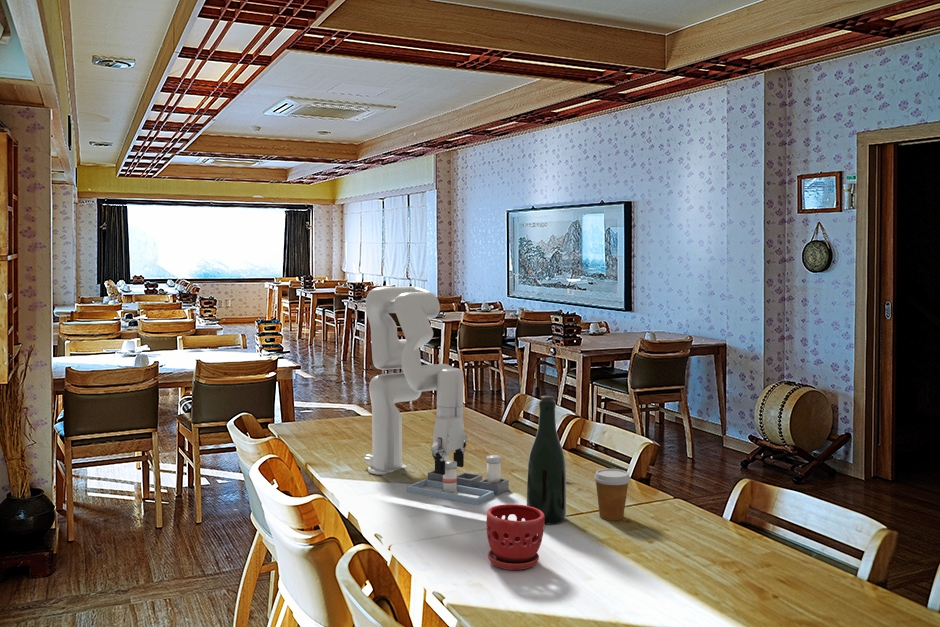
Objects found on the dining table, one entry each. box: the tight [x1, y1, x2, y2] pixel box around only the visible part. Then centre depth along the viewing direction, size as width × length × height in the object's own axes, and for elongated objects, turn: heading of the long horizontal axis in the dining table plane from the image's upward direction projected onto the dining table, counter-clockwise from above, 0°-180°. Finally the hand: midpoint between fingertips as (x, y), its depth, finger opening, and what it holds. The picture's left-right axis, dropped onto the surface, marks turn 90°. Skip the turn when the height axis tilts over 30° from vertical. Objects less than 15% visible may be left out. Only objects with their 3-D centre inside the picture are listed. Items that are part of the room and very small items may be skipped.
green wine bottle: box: [526, 395, 567, 525], centre depth 215 cm, size 10×10×33 cm
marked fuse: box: [442, 460, 458, 495], centre depth 234 cm, size 4×4×10 cm
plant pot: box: [485, 503, 545, 571], centre depth 185 cm, size 13×13×12 cm
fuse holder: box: [427, 469, 511, 497], centre depth 242 cm, size 25×8×4 cm, turn 58°
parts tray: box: [406, 478, 495, 506], centre depth 234 cm, size 24×9×3 cm, turn 58°
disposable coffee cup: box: [593, 468, 631, 521], centre depth 218 cm, size 10×10×12 cm
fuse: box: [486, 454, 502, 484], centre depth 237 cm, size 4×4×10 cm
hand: (449, 470), depth 234 cm, fingers open, 9 cm apart
